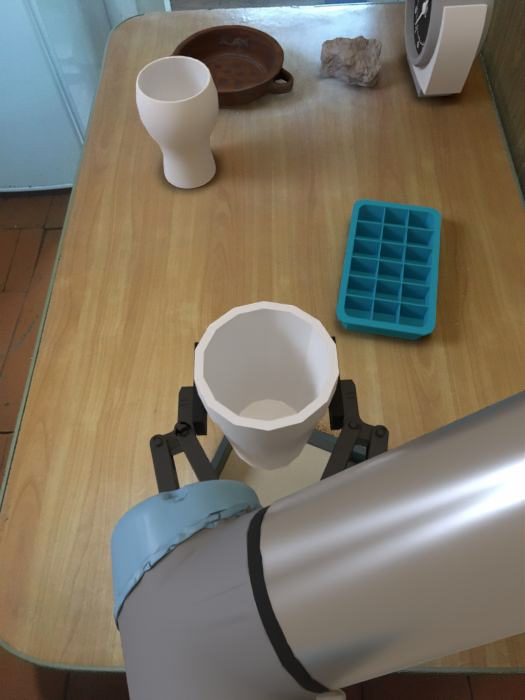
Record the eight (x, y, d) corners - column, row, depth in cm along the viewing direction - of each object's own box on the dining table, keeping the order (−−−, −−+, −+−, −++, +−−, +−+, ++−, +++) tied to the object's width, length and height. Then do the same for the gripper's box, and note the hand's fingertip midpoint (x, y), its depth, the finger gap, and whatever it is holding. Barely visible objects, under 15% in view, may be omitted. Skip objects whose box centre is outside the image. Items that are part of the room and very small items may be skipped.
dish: (185, 44, 98) (180, 15, 94) (305, 61, 95) (307, 32, 91) (150, 106, 90) (144, 78, 86) (281, 127, 87) (281, 99, 83)
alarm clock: (393, 45, 97) (419, -92, 79) (442, 42, 97) (478, -95, 79) (413, 112, 88) (447, -25, 70) (466, 109, 88) (513, -29, 70)
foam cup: (191, 444, 47) (163, 374, 35) (257, 366, 50) (251, 280, 39) (282, 512, 44) (283, 459, 32) (345, 424, 47) (366, 348, 36)
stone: (379, 92, 90) (385, 58, 85) (319, 92, 91) (320, 58, 86) (378, 62, 94) (383, 28, 89) (320, 62, 95) (321, 28, 90)
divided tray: (444, 491, 58) (454, 481, 55) (414, 607, 53) (422, 604, 50) (242, 413, 63) (240, 400, 60) (195, 512, 58) (190, 503, 55)
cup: (147, 193, 81) (121, 102, 68) (163, 143, 86) (142, 50, 73) (218, 199, 80) (206, 108, 67) (230, 148, 85) (222, 55, 72)
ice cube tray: (436, 224, 76) (441, 208, 74) (428, 348, 67) (434, 336, 64) (352, 213, 78) (354, 197, 75) (332, 334, 68) (334, 320, 65)
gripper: (108, 688, 35) (135, 375, 46) (451, 674, 35) (396, 364, 46) (69, 694, 29) (112, 328, 40) (490, 677, 29) (416, 315, 40)
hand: (265, 348), depth 43 cm, fingers closed on foam cup, 9 cm apart
